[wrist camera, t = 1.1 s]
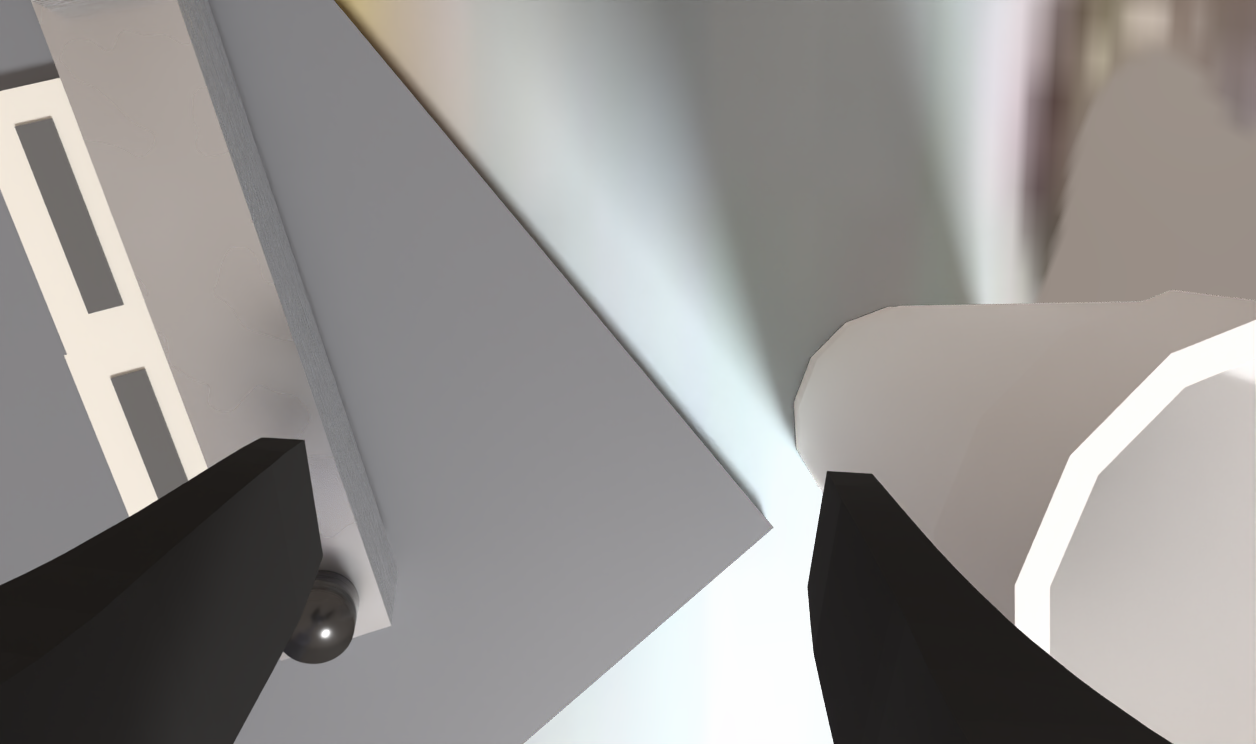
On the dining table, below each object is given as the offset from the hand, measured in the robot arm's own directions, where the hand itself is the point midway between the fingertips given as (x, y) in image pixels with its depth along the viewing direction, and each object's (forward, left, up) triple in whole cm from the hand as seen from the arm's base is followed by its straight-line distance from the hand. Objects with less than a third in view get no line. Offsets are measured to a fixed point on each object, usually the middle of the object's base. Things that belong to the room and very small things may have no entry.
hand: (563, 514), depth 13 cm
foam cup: (+8, -9, -13) cm, 17 cm away
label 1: (-5, +9, -12) cm, 16 cm away
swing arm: (-3, +7, -11) cm, 14 cm away
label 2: (-7, +4, -12) cm, 14 cm away
